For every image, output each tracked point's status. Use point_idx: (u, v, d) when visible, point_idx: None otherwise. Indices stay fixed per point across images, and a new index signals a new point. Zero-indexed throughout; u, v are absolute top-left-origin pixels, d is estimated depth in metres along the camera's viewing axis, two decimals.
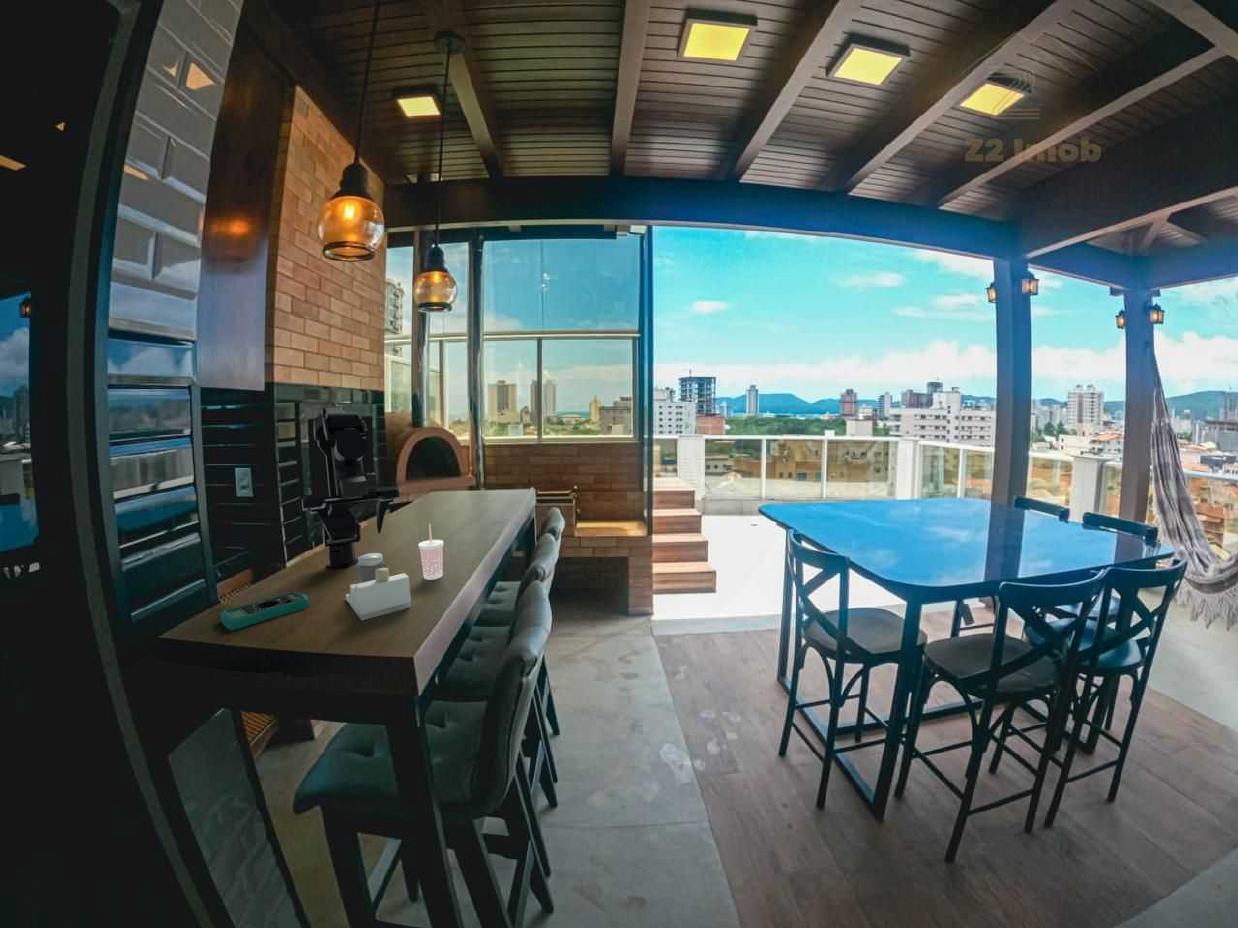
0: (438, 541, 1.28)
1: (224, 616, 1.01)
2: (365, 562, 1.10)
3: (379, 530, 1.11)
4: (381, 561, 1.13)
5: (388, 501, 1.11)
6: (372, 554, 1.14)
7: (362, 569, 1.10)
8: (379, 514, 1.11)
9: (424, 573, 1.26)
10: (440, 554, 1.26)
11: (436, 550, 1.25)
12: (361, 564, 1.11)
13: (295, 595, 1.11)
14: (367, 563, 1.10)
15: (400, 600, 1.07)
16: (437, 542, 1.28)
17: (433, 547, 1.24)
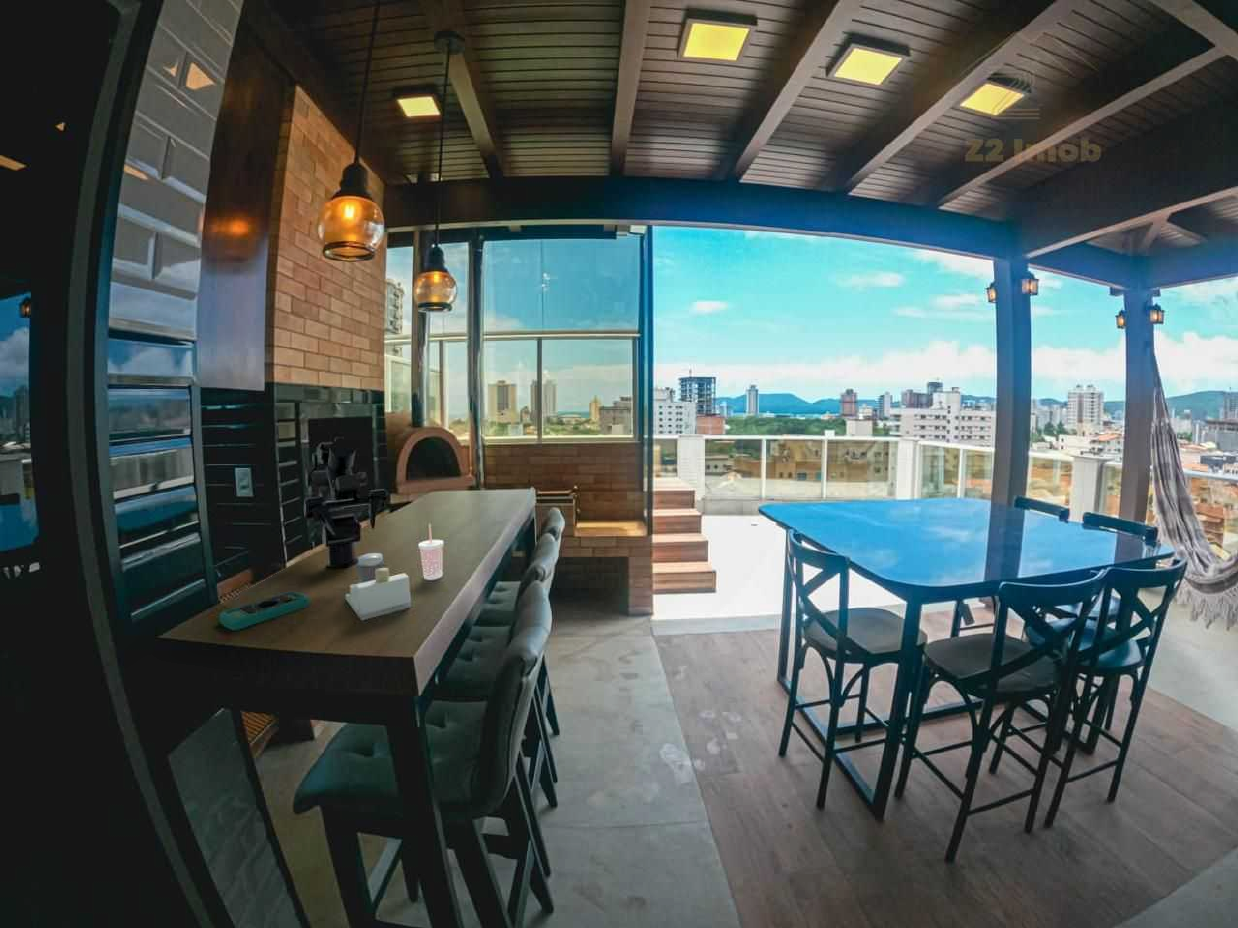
0: (438, 541, 1.28)
1: (225, 617, 1.00)
2: (365, 562, 1.10)
3: (373, 524, 1.25)
4: (381, 561, 1.13)
5: (378, 499, 1.28)
6: (372, 554, 1.14)
7: (362, 569, 1.10)
8: (371, 511, 1.27)
9: (424, 573, 1.26)
10: (440, 554, 1.26)
11: (436, 550, 1.25)
12: (361, 564, 1.11)
13: (294, 595, 1.11)
14: (367, 563, 1.10)
15: (400, 600, 1.07)
16: (437, 542, 1.28)
17: (433, 547, 1.24)
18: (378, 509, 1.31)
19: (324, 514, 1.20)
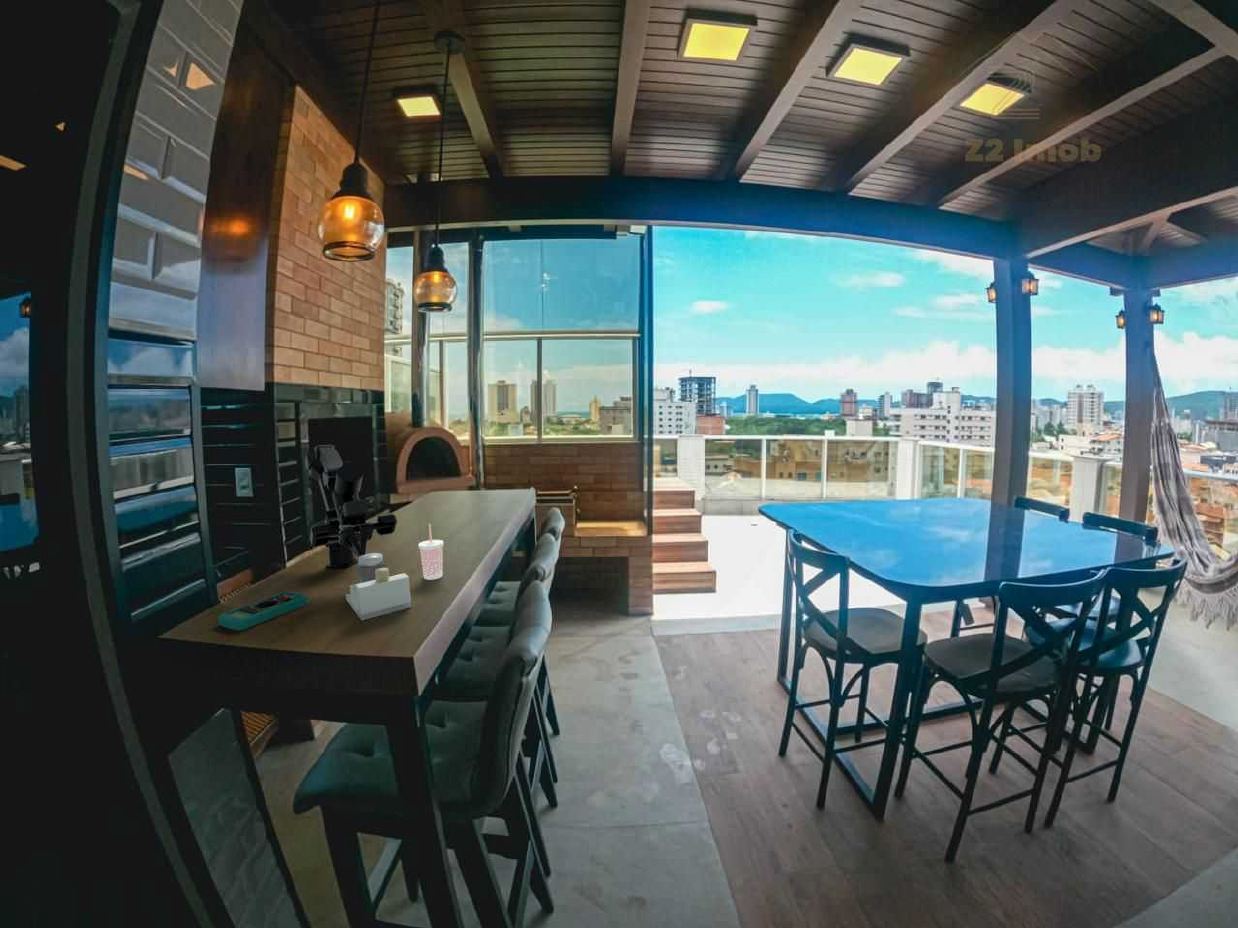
0: (438, 541, 1.28)
1: (227, 618, 1.00)
2: (365, 562, 1.10)
3: (363, 554, 1.19)
4: (381, 561, 1.13)
5: (368, 527, 1.22)
6: (372, 554, 1.14)
7: (362, 569, 1.10)
8: (361, 540, 1.20)
9: (424, 573, 1.26)
10: (440, 554, 1.26)
11: (436, 550, 1.25)
12: (361, 564, 1.11)
13: (290, 594, 1.12)
14: (367, 563, 1.10)
15: (400, 600, 1.07)
16: (437, 542, 1.28)
17: (433, 547, 1.24)
18: (369, 537, 1.25)
19: (351, 538, 1.19)
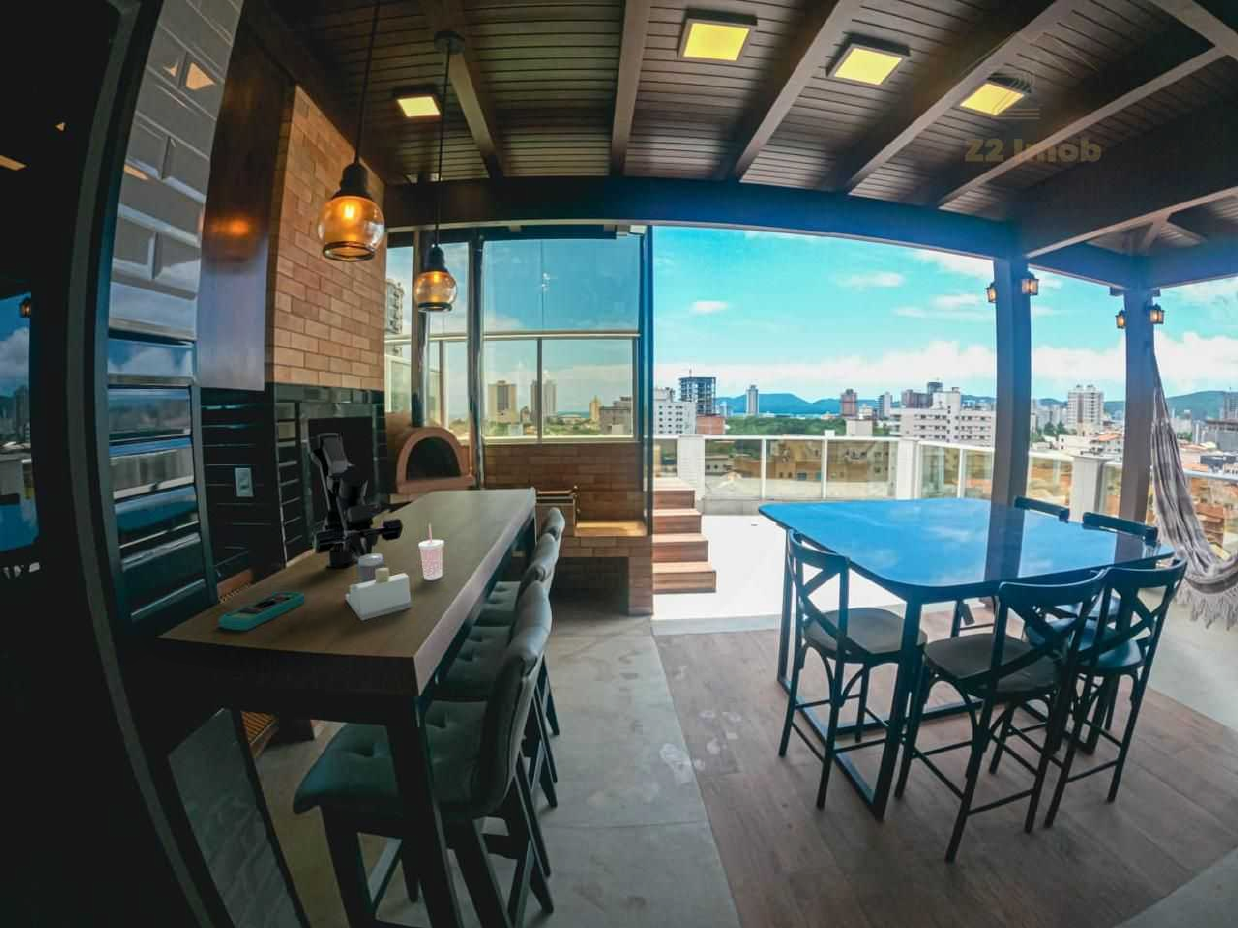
0: (438, 541, 1.28)
1: (230, 619, 0.99)
2: (365, 562, 1.10)
3: None
4: (381, 561, 1.13)
5: (374, 532, 1.18)
6: (372, 554, 1.14)
7: (362, 569, 1.10)
8: (367, 547, 1.17)
9: (424, 573, 1.26)
10: (440, 554, 1.26)
11: (436, 550, 1.25)
12: (361, 564, 1.10)
13: (286, 594, 1.12)
14: (367, 563, 1.10)
15: (400, 600, 1.07)
16: (437, 542, 1.28)
17: (433, 547, 1.24)
18: (374, 543, 1.21)
19: (356, 544, 1.15)
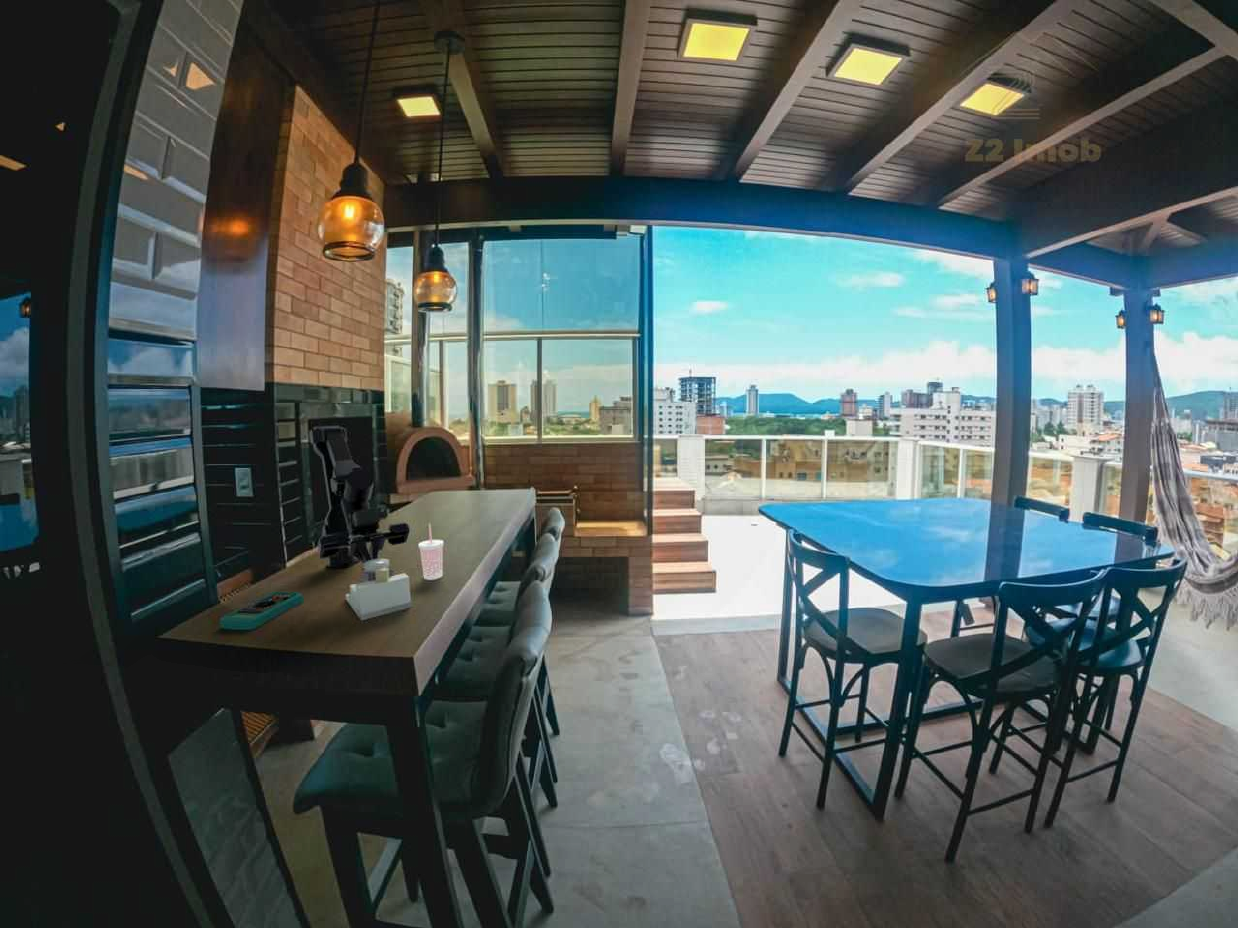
0: (438, 541, 1.28)
1: (233, 619, 0.99)
2: (371, 568, 1.06)
3: None
4: (388, 567, 1.09)
5: (380, 537, 1.14)
6: (378, 560, 1.10)
7: (368, 575, 1.06)
8: (373, 552, 1.13)
9: (424, 573, 1.26)
10: (440, 554, 1.26)
11: (436, 550, 1.25)
12: (367, 570, 1.07)
13: (283, 594, 1.12)
14: (373, 569, 1.06)
15: (400, 600, 1.07)
16: (437, 542, 1.28)
17: (433, 547, 1.24)
18: (380, 548, 1.17)
19: (361, 549, 1.11)
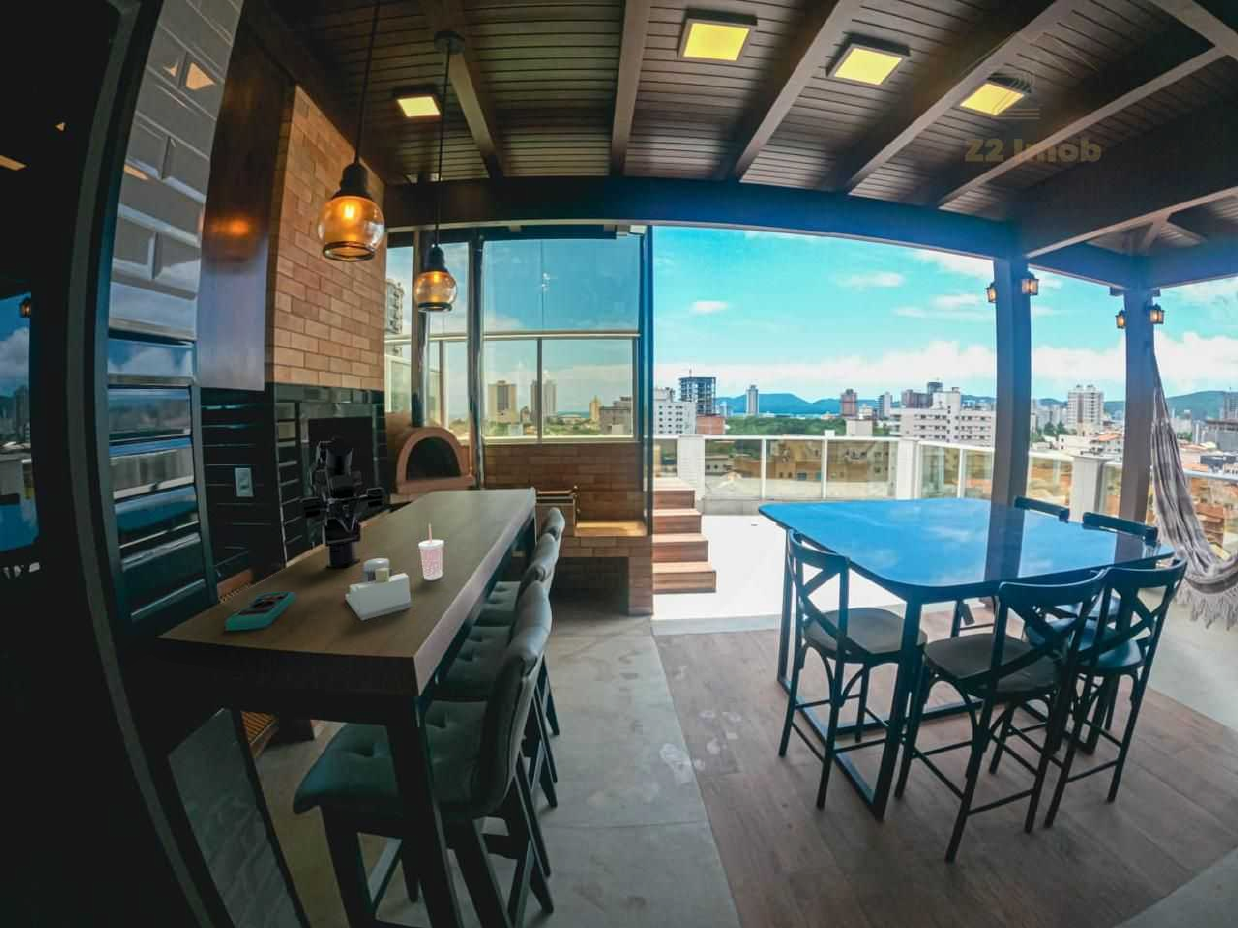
0: (438, 541, 1.28)
1: (243, 619, 0.99)
2: (371, 568, 1.06)
3: (350, 527, 1.22)
4: (387, 567, 1.09)
5: (356, 500, 1.24)
6: (378, 559, 1.10)
7: (368, 575, 1.06)
8: (349, 514, 1.23)
9: (424, 573, 1.26)
10: (440, 554, 1.26)
11: (436, 550, 1.25)
12: (367, 570, 1.07)
13: (273, 595, 1.12)
14: (373, 569, 1.07)
15: (400, 600, 1.07)
16: (437, 542, 1.28)
17: (433, 547, 1.24)
18: (359, 510, 1.28)
19: (338, 511, 1.22)
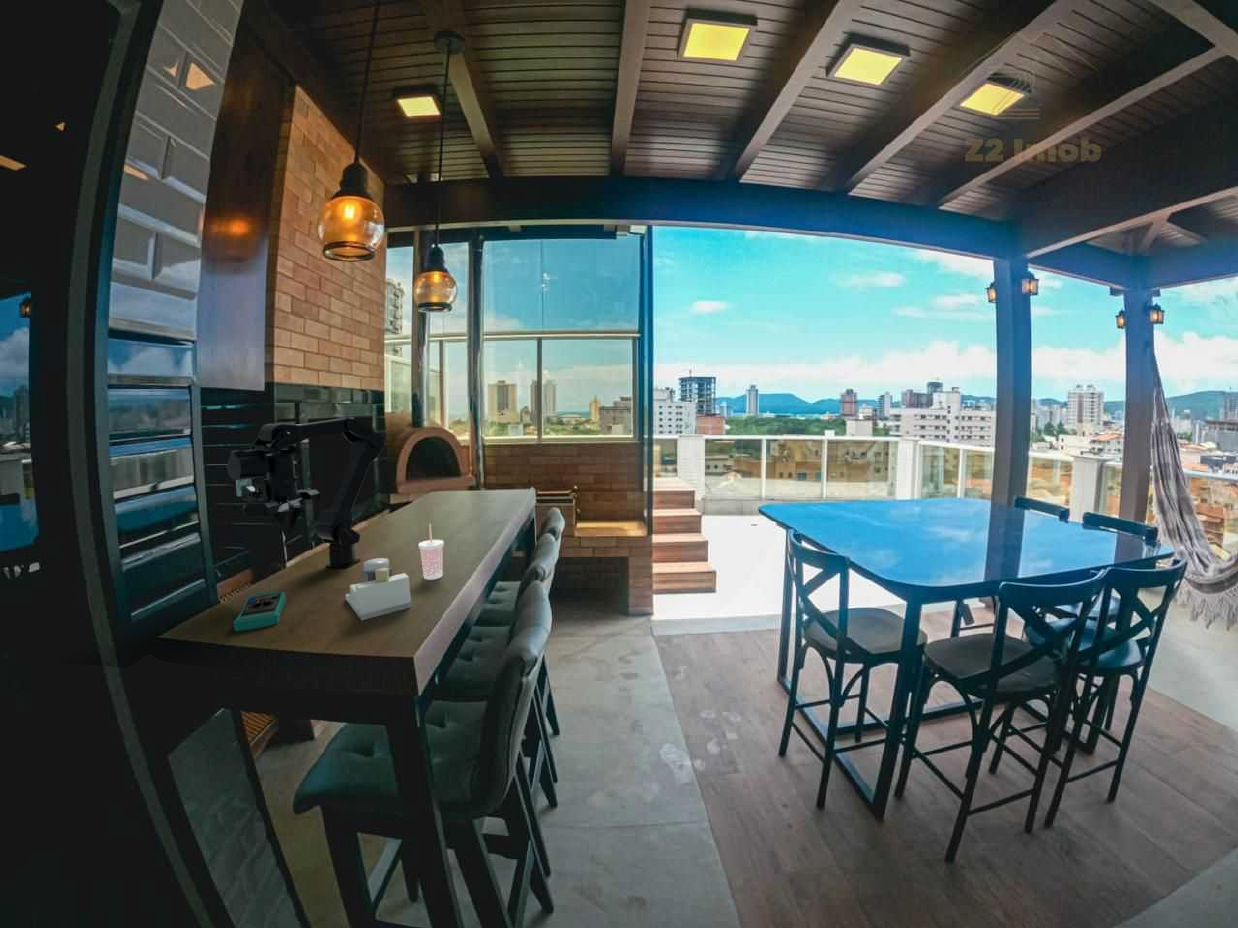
0: (438, 541, 1.28)
1: (254, 618, 0.99)
2: (371, 568, 1.06)
3: None
4: (387, 567, 1.09)
5: None
6: (378, 559, 1.10)
7: (368, 575, 1.06)
8: None
9: (424, 573, 1.26)
10: (440, 554, 1.26)
11: (436, 550, 1.25)
12: (367, 570, 1.07)
13: (263, 596, 1.11)
14: (373, 569, 1.07)
15: (400, 600, 1.07)
16: (437, 542, 1.28)
17: (433, 547, 1.24)
18: None
19: None
